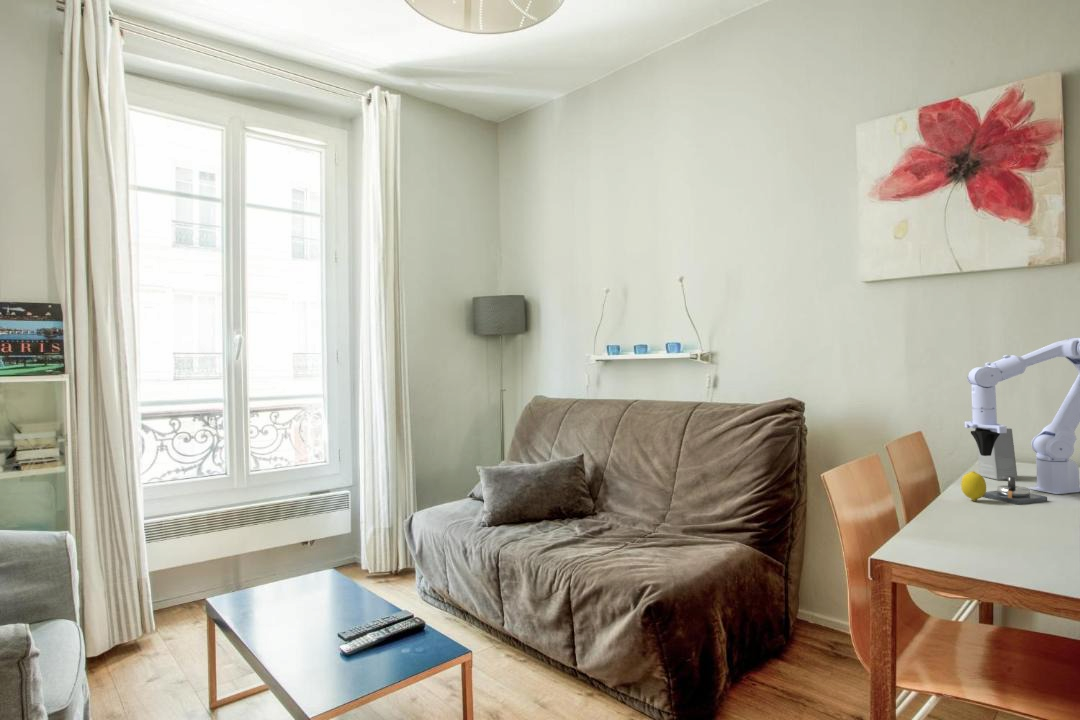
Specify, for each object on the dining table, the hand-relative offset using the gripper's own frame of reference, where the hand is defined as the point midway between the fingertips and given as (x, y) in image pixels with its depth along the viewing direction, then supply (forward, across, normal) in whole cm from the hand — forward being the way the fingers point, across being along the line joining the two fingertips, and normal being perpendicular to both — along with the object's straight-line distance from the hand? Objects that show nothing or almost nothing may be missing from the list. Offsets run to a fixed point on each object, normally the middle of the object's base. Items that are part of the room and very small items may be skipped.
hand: (985, 455), depth 177 cm
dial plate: (+10, +12, -1) cm, 15 cm away
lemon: (+10, +13, -12) cm, 20 cm away
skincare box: (+10, -16, +14) cm, 23 cm away
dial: (+9, +12, -1) cm, 14 cm away
